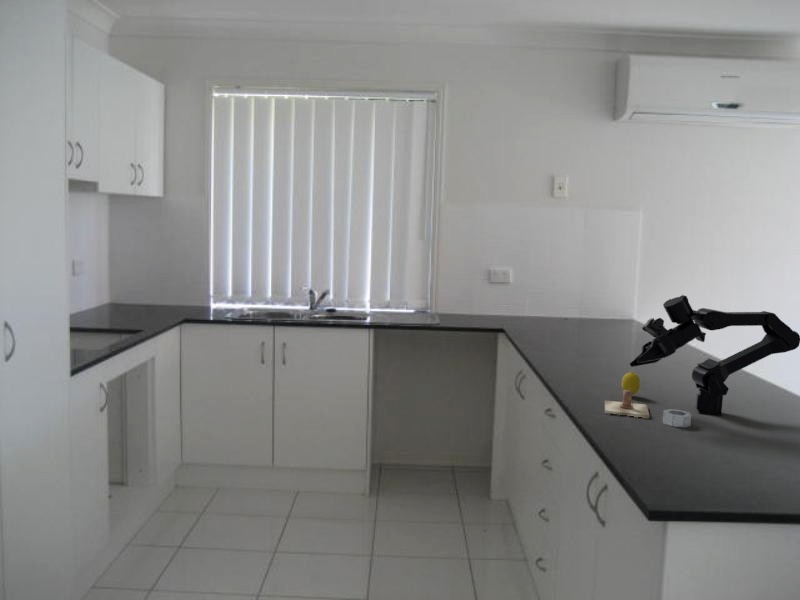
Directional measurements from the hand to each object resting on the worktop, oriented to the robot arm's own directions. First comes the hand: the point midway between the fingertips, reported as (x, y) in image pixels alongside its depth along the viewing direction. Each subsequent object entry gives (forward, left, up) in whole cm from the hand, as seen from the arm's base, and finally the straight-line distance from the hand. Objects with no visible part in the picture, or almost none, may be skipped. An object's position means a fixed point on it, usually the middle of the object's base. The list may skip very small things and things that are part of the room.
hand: (633, 363), depth 209 cm
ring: (-12, +8, -14) cm, 20 cm away
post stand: (+1, 0, -14) cm, 14 cm away
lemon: (-1, -19, -14) cm, 24 cm away
